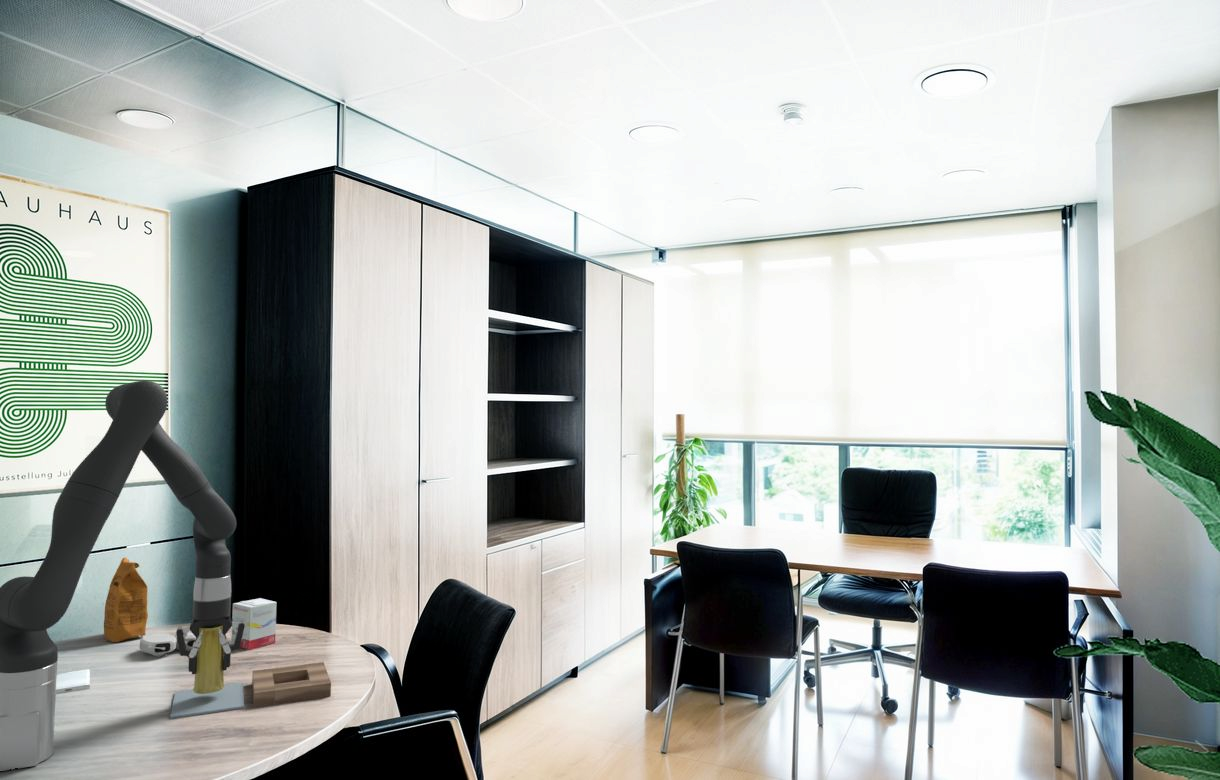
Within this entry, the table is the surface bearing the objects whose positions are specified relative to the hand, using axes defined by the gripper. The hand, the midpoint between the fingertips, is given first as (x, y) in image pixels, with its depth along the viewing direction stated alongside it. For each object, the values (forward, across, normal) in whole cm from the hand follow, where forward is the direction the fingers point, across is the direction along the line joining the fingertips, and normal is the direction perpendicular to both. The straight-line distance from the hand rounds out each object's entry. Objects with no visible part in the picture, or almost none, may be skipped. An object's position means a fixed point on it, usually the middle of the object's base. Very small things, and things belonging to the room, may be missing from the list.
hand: (209, 671), depth 168 cm
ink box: (+7, +10, +42) cm, 44 cm away
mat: (+7, 0, 0) cm, 7 cm away
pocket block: (+7, +17, 0) cm, 18 cm away
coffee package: (+7, -23, +64) cm, 68 cm away
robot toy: (+7, -10, +44) cm, 46 cm away
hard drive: (+7, -30, +25) cm, 40 cm away
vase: (+4, 0, 0) cm, 4 cm away
